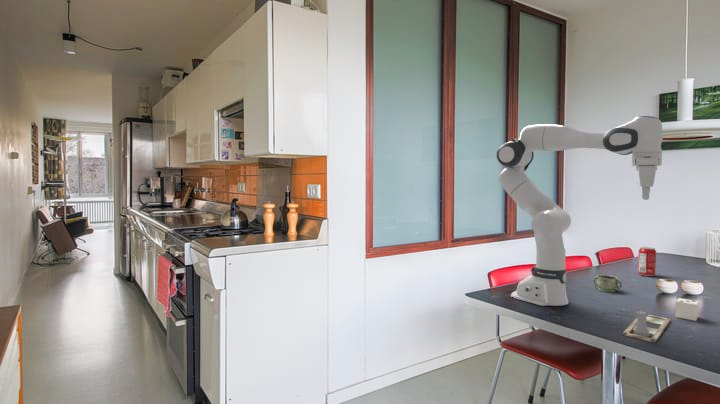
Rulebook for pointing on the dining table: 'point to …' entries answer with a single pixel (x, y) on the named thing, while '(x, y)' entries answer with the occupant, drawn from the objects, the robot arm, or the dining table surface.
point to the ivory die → (687, 309)
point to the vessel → (607, 283)
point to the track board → (654, 332)
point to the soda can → (647, 261)
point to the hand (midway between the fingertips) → (645, 199)
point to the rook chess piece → (641, 324)
